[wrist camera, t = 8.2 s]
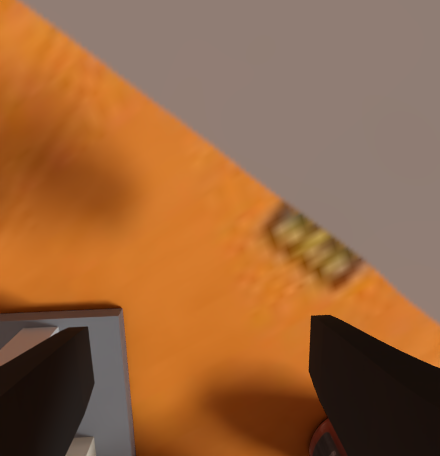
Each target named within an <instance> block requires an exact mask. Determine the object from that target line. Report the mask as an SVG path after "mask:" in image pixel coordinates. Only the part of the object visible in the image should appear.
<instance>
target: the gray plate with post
mask: <svg viewBox="0 0 440 456" xmlns="http://www.w3.org/2000/svg"><path fill="white" fill-rule="evenodd" d="M86 326H88V330H89V339H90V347H91V356H92V364H93V373H94V381H95V384H94V387H93V390H92V394H91V397H90V400H89V403H88V406H87V409H86V412H85V415H84V417H83V419H82V421H81V424H80V426H79V428H78V430H77V432H76V434H75V436H74V438H80V437H94V442H95V450H96V456H136V451H135V440H134V429H133V418H132V407H131V396H130V385H129V374H128V363H127V352H126V341H125V330H124V319H123V308H117V309H94V310H72V311H50V312H27V313H5V314H0V366H1V365H3V364H5V363H7V362H9V361H10V360H12V359H14V358H15V357H17V356H19V355H20V354H22V353H24V352H25V351H27V350H29V349H31V348H32V347H34V346H36V345H37V344H39V343H41V342H42V341H44V340H46V339H47V338H49V337H51V336H52V335H54V334H56V333H58V332H60V331H62V330H64V329H66V328H68V327H86Z"/></svg>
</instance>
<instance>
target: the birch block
mask: <svg viewBox="0 0 440 456" xmlns="http://www.w3.org/2000/svg"><path fill="white" fill-rule="evenodd" d="M65 456H96V450H95V442H94V437H80V438H74V439H73V441H72V443H71V445H70V447H69V449H68V451H67V453H66V455H65Z"/></svg>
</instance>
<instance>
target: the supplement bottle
mask: <svg viewBox="0 0 440 456" xmlns="http://www.w3.org/2000/svg"><path fill="white" fill-rule="evenodd" d="M309 451H310V452H309V454H310V456H348V455H347V453H346V451H345V449H344V447H343V445H342V444H341V442H340V440H339V438H338V436H337V434H336V432H335V430H334V428H333V426H332V424H331V422H330V420H329V418H328V419H326V420H325V421H324V422H322V424H320V426H319V427H318V428H317V429H316V431H315V433H314V434H313V437H312V439H311V442H310V450H309Z"/></svg>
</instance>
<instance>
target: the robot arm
mask: <svg viewBox="0 0 440 456" xmlns="http://www.w3.org/2000/svg"><path fill="white" fill-rule="evenodd" d="M309 373H310V376H311V379H312V382H313V385H314V387H315V390H316V393H317V395H318V398H319V401H320V403H321V405H322V407H323V409H324V411H325V413H326V415H327V416H328V418H329V420H330V422H331V424H332V426H333V428H334V430H335V432H336V434H337V436H338V438H339V440H340V442H341V444H342V445H343V447H344V449H345V451H346V453H347V455H348V456H440V368H438V367H435V366H433V365H430V364H428V363H426V362H423V361H421V360H419V359H417V358H415V357H413V356H410V355H408V354H406V353H404V352H402V351H400V350H398V349H396V348H394V347H392V346H390V345H388V344H386V343H384V342H382V341H380V340H378V339H376V338H374V337H372V336H370V335H368V334H367V333H365V332H363V331H361V330H359V329H357V328H355V327H353V326H352V325H350V324H348V323H346V322H344V321H342V320H340V319H338V318H336V317H333V316H331V315H317V316H311V330H310V353H309ZM94 384H95V381H94V373H93V364H92V356H91V347H90V339H89V330H88V326H86V327H68V328H66V329H64V330H62V331H60V332H58V333H56V334H54V335H52V336H51V337H49V338H47V339H46V340H44V341H42V342H41V343H39V344H37V345H36V346H34V347H32V348H31V349H29V350H27V351H25V352H24V353H22V354H20V355H19V356H17V357H15V358H14V359H12V360H10V361H9V362H7V363H5V364H3V365H1V366H0V456H65V455H66V453H67V451H68V449H69V447H70V445H71V443H72V441H73V439H74V436H75V434H76V432H77V430H78V428H79V426H80V424H81V421H82V419H83V417H84V415H85V412H86V409H87V406H88V403H89V400H90V397H91V394H92V390H93V387H94Z"/></svg>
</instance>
